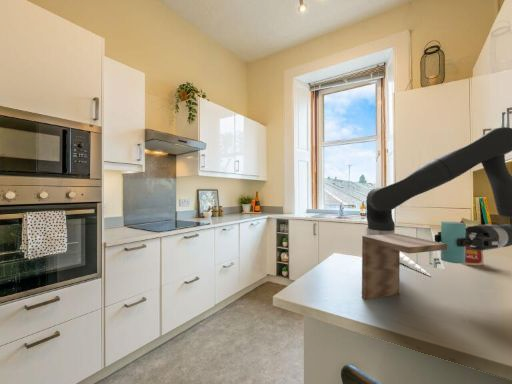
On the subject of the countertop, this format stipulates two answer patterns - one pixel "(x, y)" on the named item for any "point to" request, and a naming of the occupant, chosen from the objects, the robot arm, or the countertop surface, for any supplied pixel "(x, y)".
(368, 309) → the countertop surface
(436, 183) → the robot arm
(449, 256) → the teal rounded cylinder
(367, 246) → the shelf
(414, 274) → the countertop surface
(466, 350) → the countertop surface
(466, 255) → the milk carton
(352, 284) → the countertop surface
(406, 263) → the unicorn horn
